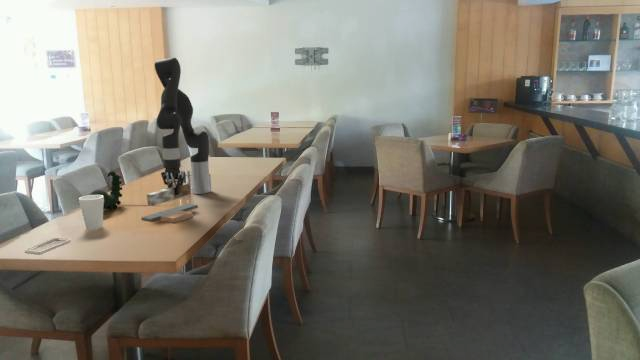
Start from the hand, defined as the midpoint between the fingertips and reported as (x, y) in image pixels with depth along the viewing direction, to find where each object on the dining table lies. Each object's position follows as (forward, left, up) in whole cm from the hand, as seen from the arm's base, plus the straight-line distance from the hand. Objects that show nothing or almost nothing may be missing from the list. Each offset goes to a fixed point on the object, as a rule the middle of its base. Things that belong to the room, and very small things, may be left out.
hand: (174, 194), depth 236 cm
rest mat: (+3, 0, -8) cm, 9 cm away
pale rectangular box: (+3, 0, -2) cm, 3 cm away
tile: (+2, +10, -7) cm, 12 cm away
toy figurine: (+15, -30, -9) cm, 35 cm away
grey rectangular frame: (+59, -3, -9) cm, 60 cm away
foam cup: (+35, -10, -8) cm, 37 cm away
